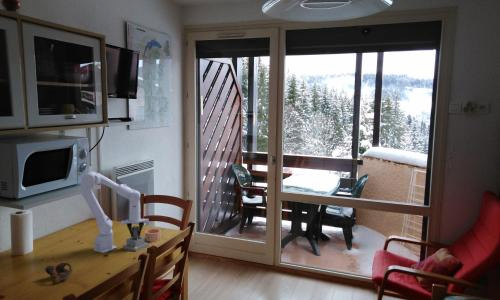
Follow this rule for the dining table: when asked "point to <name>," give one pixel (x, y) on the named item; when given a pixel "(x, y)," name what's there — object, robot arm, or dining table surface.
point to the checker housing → (135, 244)
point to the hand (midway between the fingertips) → (135, 235)
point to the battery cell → (135, 233)
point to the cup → (153, 235)
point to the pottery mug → (59, 271)
